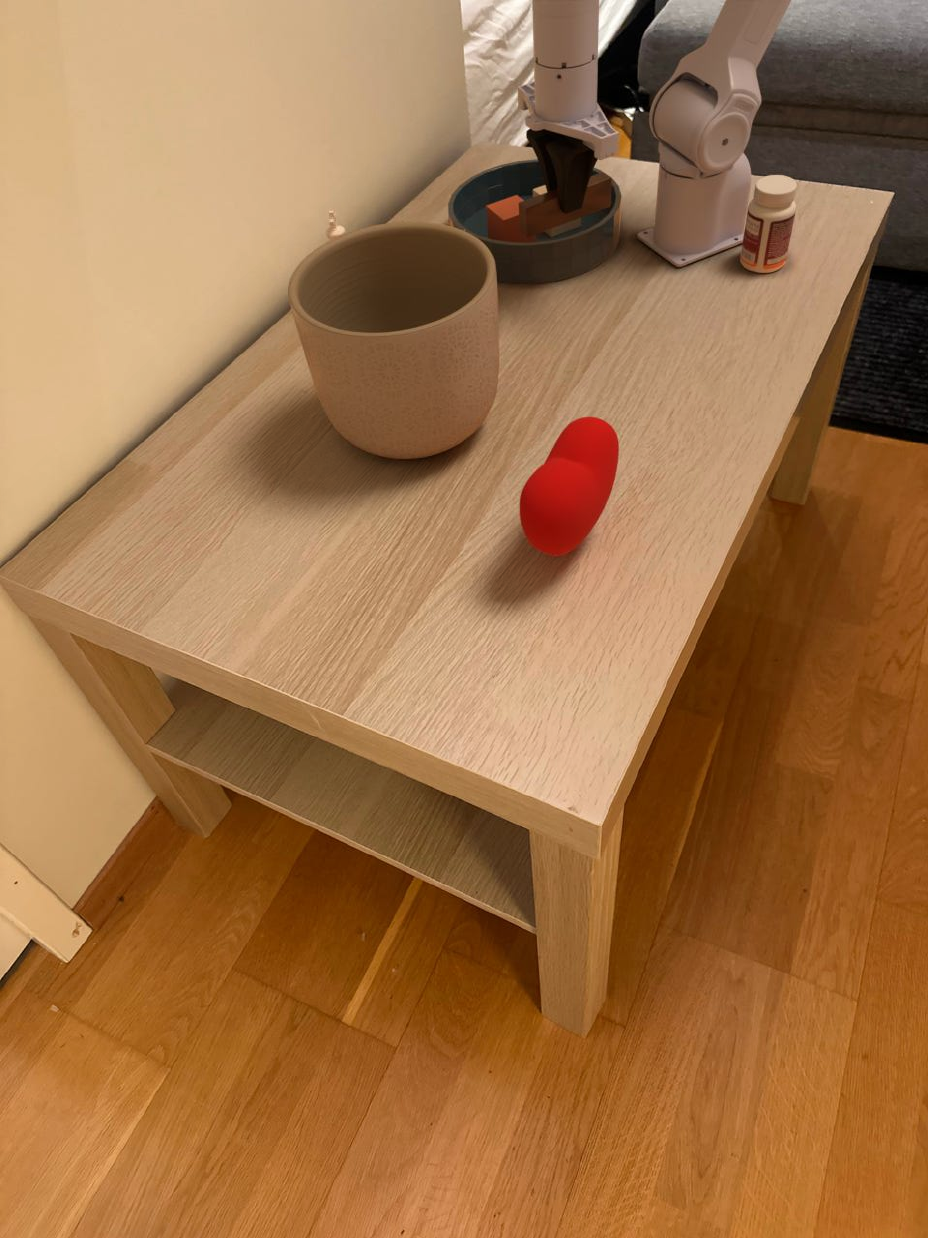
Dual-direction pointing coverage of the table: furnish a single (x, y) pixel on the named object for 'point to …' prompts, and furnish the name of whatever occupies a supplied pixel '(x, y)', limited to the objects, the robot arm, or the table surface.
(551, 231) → the cream block
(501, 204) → the terracotta block
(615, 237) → the bowl
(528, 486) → the heart
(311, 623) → the table surface
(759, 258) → the pill bottle
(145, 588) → the table surface
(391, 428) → the planter
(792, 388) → the table surface
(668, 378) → the table surface
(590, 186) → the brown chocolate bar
